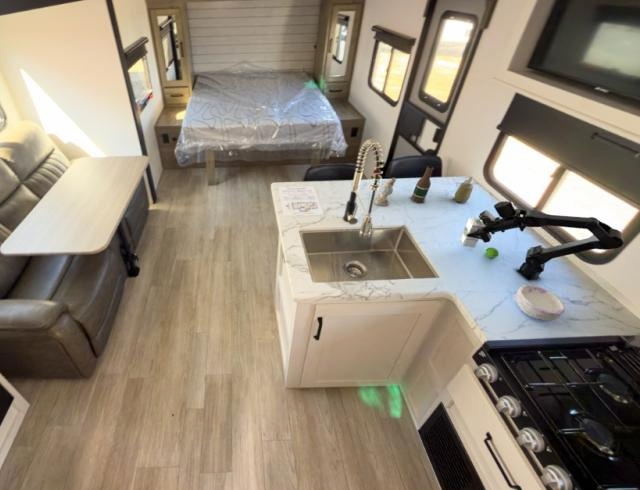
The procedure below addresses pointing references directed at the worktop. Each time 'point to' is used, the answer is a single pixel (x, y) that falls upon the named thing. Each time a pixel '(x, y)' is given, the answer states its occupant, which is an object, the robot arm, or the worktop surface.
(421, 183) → the beer bottle
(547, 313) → the paper bowls
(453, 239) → the worktop surface
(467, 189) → the squeeze bottle
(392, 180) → the figurine
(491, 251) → the lime
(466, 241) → the syrup box
